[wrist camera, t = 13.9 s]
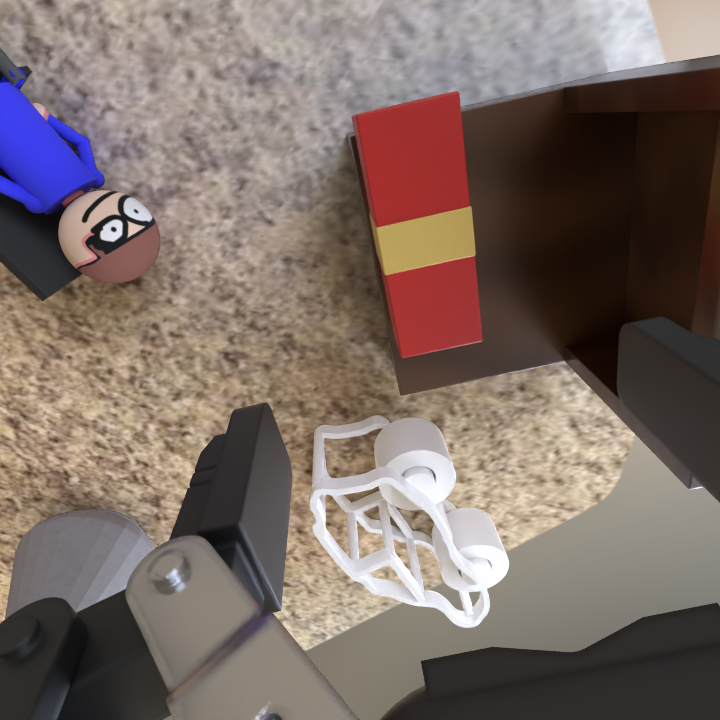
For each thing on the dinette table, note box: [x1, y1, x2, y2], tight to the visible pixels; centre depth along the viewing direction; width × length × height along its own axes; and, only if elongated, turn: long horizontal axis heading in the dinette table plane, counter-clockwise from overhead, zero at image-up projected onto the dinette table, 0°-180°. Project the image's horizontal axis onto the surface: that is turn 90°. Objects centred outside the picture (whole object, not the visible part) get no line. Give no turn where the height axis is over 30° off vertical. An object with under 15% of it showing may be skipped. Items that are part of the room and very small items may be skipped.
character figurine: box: [0, 48, 160, 301], centre depth 25 cm, size 8×7×15 cm
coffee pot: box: [5, 509, 155, 619], centre depth 35 cm, size 21×12×15 cm, turn 123°
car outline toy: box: [310, 415, 509, 628], centre depth 39 cm, size 20×11×7 cm, turn 29°
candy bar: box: [352, 91, 483, 358], centre depth 24 cm, size 12×5×4 cm, turn 12°
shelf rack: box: [347, 55, 720, 489], centre depth 24 cm, size 16×16×17 cm
